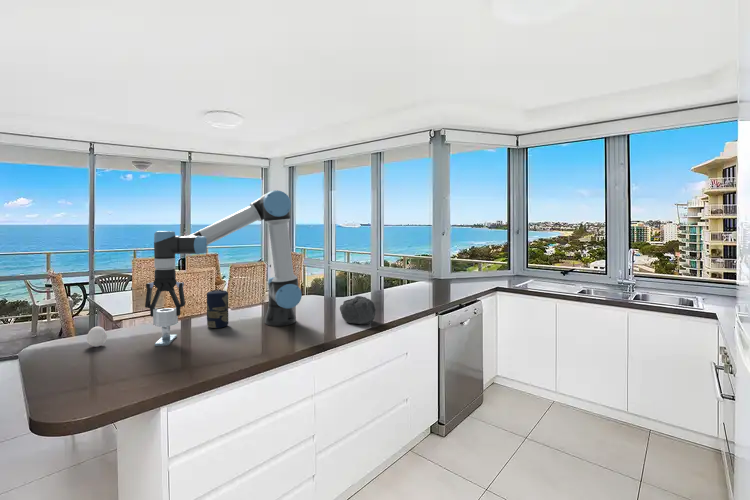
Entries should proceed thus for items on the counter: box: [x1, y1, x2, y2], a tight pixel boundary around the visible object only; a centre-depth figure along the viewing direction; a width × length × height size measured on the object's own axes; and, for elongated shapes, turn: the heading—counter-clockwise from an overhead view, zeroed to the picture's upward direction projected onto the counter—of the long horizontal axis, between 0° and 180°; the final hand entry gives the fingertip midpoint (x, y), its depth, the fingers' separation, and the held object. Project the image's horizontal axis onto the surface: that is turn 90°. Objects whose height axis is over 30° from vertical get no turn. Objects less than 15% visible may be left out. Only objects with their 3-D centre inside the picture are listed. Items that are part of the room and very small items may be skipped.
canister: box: [206, 288, 229, 329], centre depth 178 cm, size 10×10×18 cm
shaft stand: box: [154, 326, 178, 347], centre depth 155 cm, size 5×12×7 cm, turn 14°
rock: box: [339, 295, 377, 325], centre depth 191 cm, size 22×14×15 cm
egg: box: [86, 326, 108, 348], centre depth 147 cm, size 6×6×8 cm
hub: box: [154, 307, 176, 328], centre depth 155 cm, size 7×7×6 cm
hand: (165, 323), depth 155 cm, fingers closed on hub, 7 cm apart
